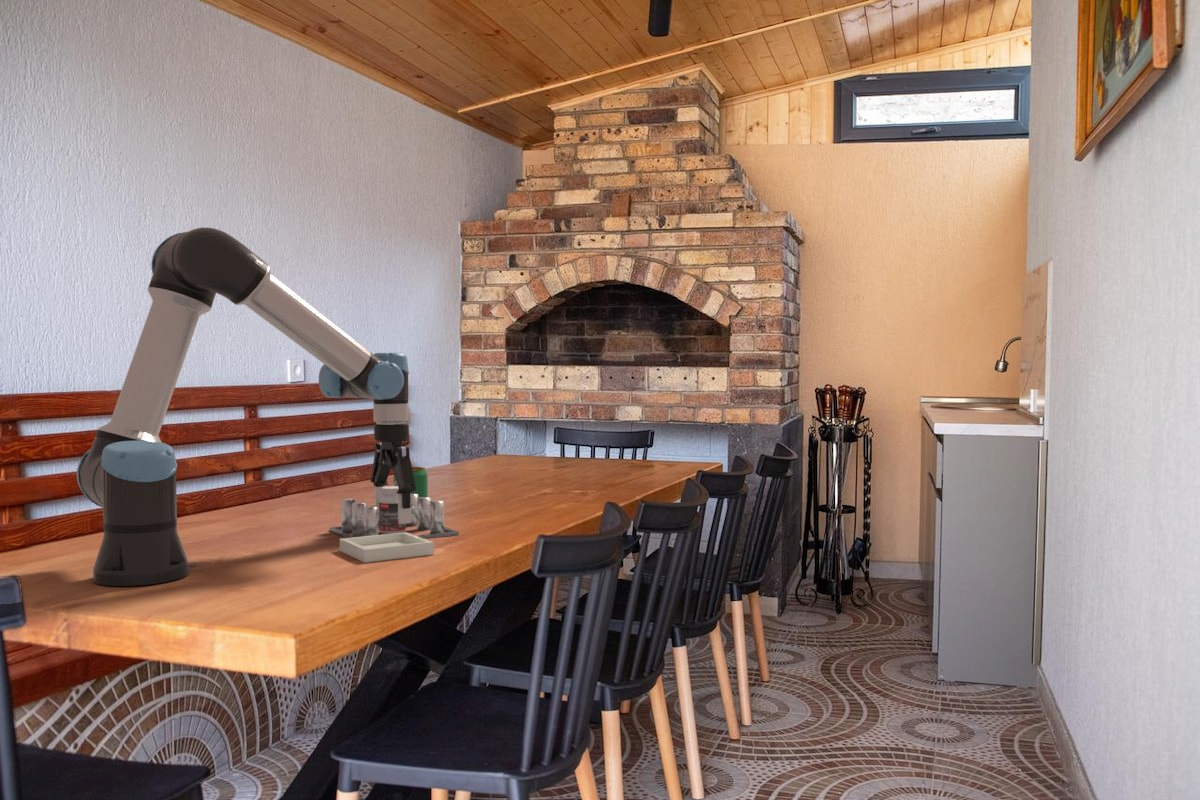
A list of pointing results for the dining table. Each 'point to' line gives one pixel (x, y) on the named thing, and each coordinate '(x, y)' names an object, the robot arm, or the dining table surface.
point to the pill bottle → (389, 511)
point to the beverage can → (419, 481)
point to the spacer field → (422, 514)
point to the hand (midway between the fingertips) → (392, 519)
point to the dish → (386, 547)
